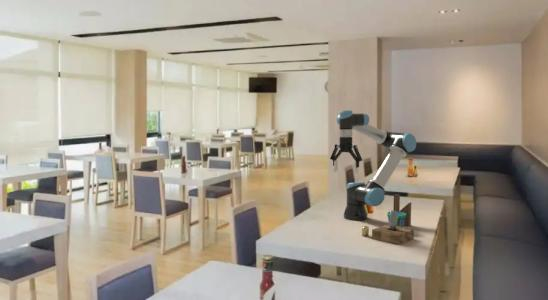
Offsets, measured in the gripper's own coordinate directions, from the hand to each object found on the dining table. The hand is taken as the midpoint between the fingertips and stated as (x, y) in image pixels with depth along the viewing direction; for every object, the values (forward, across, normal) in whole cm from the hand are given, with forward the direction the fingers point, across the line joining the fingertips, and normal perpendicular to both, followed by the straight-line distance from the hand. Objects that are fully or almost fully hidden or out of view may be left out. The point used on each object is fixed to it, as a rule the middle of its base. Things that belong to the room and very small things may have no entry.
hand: (345, 172), depth 267 cm
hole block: (+32, +34, -11) cm, 48 cm away
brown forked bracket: (+33, +25, +23) cm, 48 cm away
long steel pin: (+32, +34, -11) cm, 48 cm away
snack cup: (+33, +29, +7) cm, 44 cm away
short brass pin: (+32, +20, -14) cm, 40 cm away
